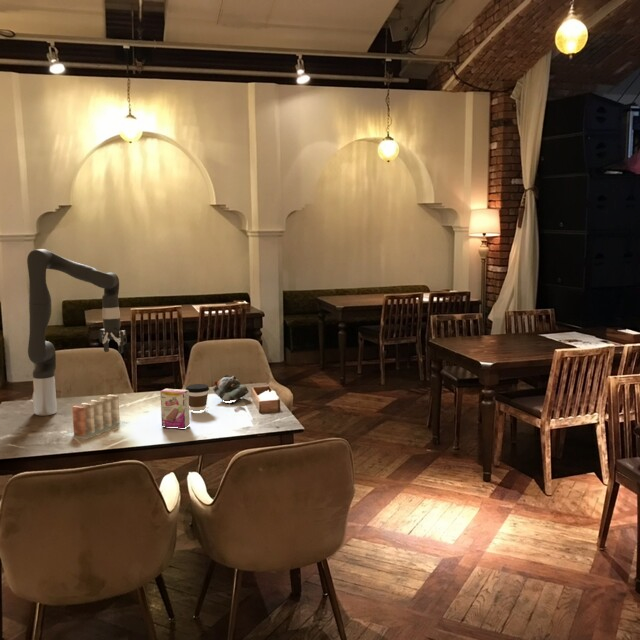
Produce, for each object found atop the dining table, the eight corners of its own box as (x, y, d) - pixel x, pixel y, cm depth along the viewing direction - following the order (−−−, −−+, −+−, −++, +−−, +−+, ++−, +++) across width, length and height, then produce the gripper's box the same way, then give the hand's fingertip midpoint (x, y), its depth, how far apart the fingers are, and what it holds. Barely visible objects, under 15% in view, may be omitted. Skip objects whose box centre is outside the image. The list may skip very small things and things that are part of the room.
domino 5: (108, 422, 308) (107, 395, 307) (111, 421, 310) (109, 394, 308) (117, 423, 306) (115, 396, 304) (119, 422, 308) (118, 395, 306)
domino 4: (100, 425, 304) (98, 398, 302) (102, 424, 305) (101, 397, 304) (109, 426, 302) (107, 399, 300) (111, 425, 303) (110, 398, 301)
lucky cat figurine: (227, 406, 335) (214, 380, 335) (219, 410, 345) (206, 384, 345) (253, 392, 342) (240, 367, 343) (244, 396, 353) (231, 372, 353)
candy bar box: (161, 428, 301) (159, 390, 298) (166, 425, 306) (165, 388, 303) (185, 430, 298) (183, 392, 295) (190, 426, 303) (189, 389, 300)
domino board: (63, 436, 290) (63, 435, 290) (108, 420, 313) (108, 418, 313) (85, 440, 285) (85, 439, 285) (129, 423, 308) (129, 422, 308)
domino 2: (82, 431, 295) (81, 403, 293) (85, 430, 296) (84, 402, 295) (91, 433, 293) (90, 405, 291) (94, 432, 294) (93, 404, 292)
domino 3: (91, 428, 299) (90, 400, 298) (94, 427, 301) (92, 399, 299) (100, 429, 297) (99, 402, 295) (103, 428, 299) (101, 401, 297)
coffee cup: (207, 415, 320) (206, 389, 318) (183, 415, 320) (182, 389, 319) (211, 408, 331) (211, 383, 329) (188, 408, 331) (187, 383, 329)
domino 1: (73, 434, 291) (72, 406, 289) (76, 433, 292) (75, 405, 290) (83, 436, 288) (81, 408, 287) (85, 435, 290) (84, 407, 288)
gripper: (93, 317, 317) (96, 352, 319) (117, 319, 310) (119, 355, 313) (105, 315, 324) (108, 350, 326) (129, 316, 317) (131, 352, 319)
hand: (113, 352), depth 319 cm, fingers open, 8 cm apart
